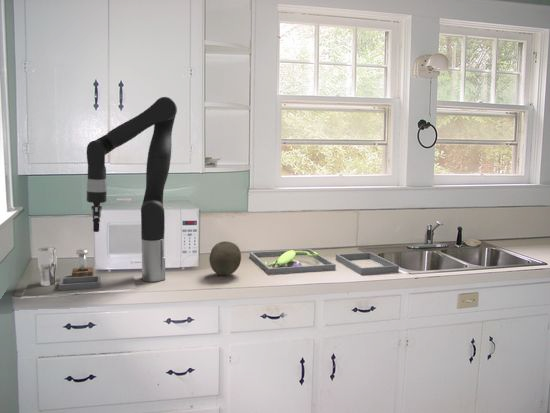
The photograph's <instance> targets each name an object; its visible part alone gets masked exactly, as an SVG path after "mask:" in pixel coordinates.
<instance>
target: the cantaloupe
mask: <svg viewBox="0 0 550 413" xmlns="http://www.w3.org/2000/svg"><path fill="white" fill-rule="evenodd" d="M208 261H209V264H210V268H211V269H212V271H213V272H214V273H215V274H216V275H218V276H221V277H227V276H229V275H232V274H234V273H235V272H236V271H237V270H238V269H239V267H240V265H241V261H242V253H241V249H240V247H239V246H238V245H237V244H236V243H234V242H231V241H220V242H218V243H216V244H215V245H214V246H213V247H212V248H211V251H210V254H209V260H208Z"/></svg>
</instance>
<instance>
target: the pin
mask: <svg viewBox="0 0 550 413" xmlns="http://www.w3.org/2000/svg"><path fill="white" fill-rule="evenodd" d="M75 253H76V255H77V256H78V268H79V272H80V271H86V267H87V255H88V254H89V250H88V249H83V248H82V249H78V250H76V252H75Z"/></svg>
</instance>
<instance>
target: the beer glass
mask: <svg viewBox="0 0 550 413" xmlns="http://www.w3.org/2000/svg"><path fill="white" fill-rule="evenodd" d="M37 265H38V266H37V267H38V270H39V274H40V286H42V287H43V286H45V287H47V286H53V285H56V284H57V279H56V272H57V265H58V255H57V248H56V247H54V246H46V247H45V246H44V247H40V248H38V249H37Z"/></svg>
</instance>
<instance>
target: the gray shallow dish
mask: <svg viewBox="0 0 550 413" xmlns="http://www.w3.org/2000/svg"><path fill="white" fill-rule="evenodd" d="M368 259H369V260H372V261H373V262H375V261H376V262H375V263H377V262H378V263H377V264H379V263H380V264H379V265H380V266H368V267H362V266H360V265H358V264H356V263H354V262H352V260H353V261H354V260H368ZM335 261H336V262H338V263H339V264H341V265H343V266H345V267H346V268H348V269H350V270H351V271H353V272H355V273H357V274H358V275H360V276H364V275H365V276H367V275H378V274H379V273H382V274H391V273H390V272H396V273H399V272H398V271H400V265H398V264H396V263H395V262H392V261H390V260H388V259H385V258H383V257H381V256H379V255H377V254H375V253H373V252H371V251H367V252H352V253H351V252H350V253H337V254H335ZM381 264H382V265H381ZM383 265H384V266H383Z"/></svg>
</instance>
